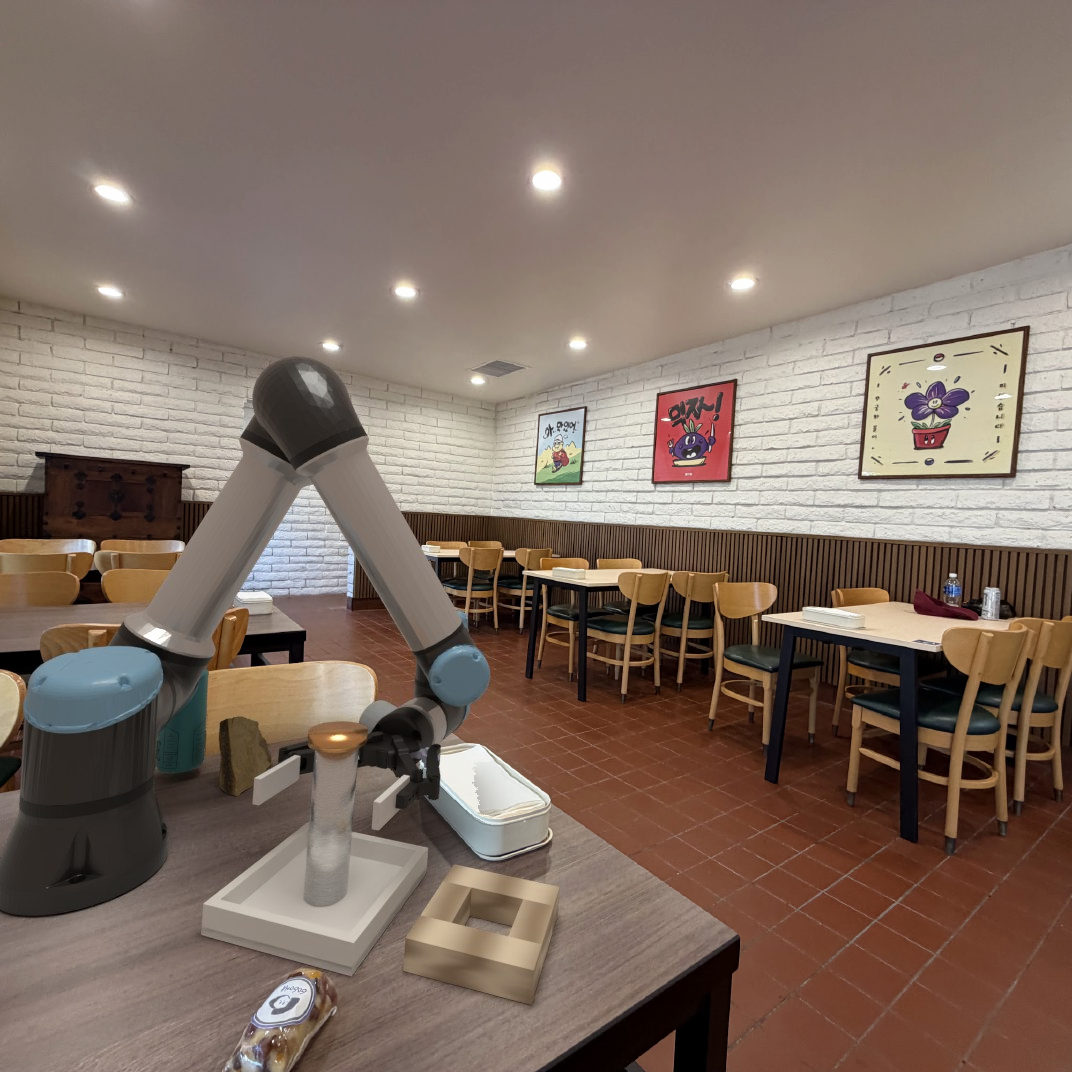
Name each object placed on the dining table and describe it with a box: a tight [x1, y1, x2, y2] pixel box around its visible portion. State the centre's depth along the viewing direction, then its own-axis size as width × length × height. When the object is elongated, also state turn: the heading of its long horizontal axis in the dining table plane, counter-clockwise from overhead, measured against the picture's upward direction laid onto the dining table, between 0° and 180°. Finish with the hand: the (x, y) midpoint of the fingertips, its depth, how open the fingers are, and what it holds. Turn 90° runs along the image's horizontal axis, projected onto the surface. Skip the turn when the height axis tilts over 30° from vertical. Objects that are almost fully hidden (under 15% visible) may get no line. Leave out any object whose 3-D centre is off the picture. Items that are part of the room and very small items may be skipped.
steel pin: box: [303, 720, 368, 906], centre depth 60 cm, size 6×6×17 cm
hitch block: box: [402, 864, 561, 1006], centre depth 56 cm, size 12×12×3 cm
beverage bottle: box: [155, 668, 210, 774], centre depth 86 cm, size 6×7×20 cm
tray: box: [200, 821, 429, 977], centre depth 60 cm, size 16×16×3 cm
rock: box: [218, 715, 274, 797], centre depth 86 cm, size 11×9×10 cm
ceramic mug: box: [358, 699, 398, 734], centre depth 103 cm, size 11×8×8 cm
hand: (314, 803), depth 57 cm, fingers open, 13 cm apart
